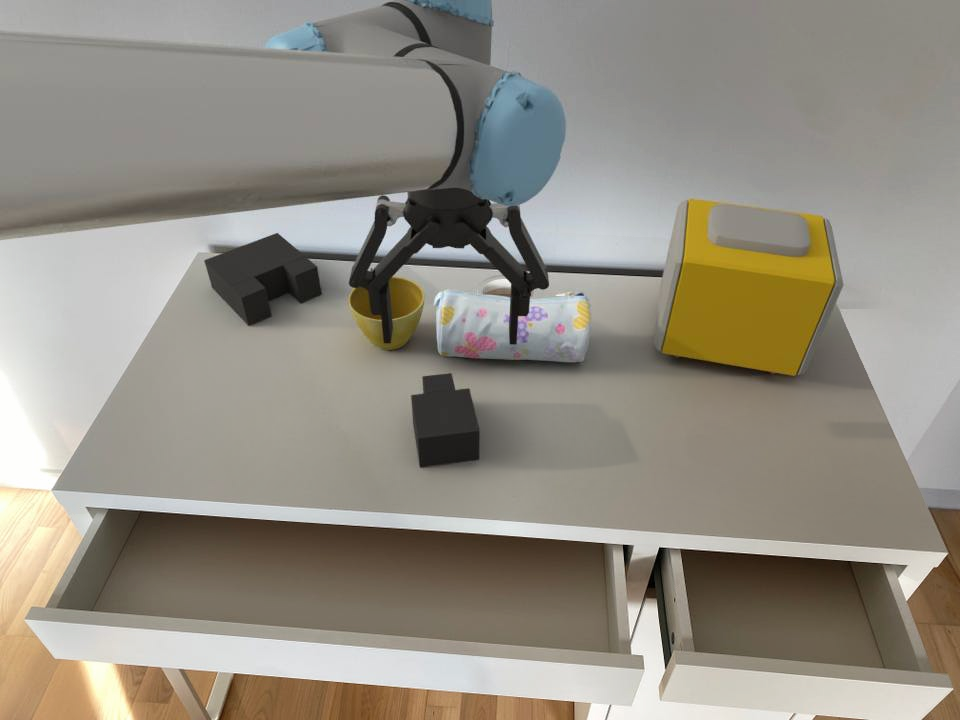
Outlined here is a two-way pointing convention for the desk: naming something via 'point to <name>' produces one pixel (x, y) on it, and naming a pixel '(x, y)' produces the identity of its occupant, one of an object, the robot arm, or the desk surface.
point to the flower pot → (404, 312)
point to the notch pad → (262, 276)
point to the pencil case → (485, 327)
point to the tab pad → (444, 422)
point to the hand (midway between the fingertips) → (450, 336)
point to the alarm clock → (747, 286)
